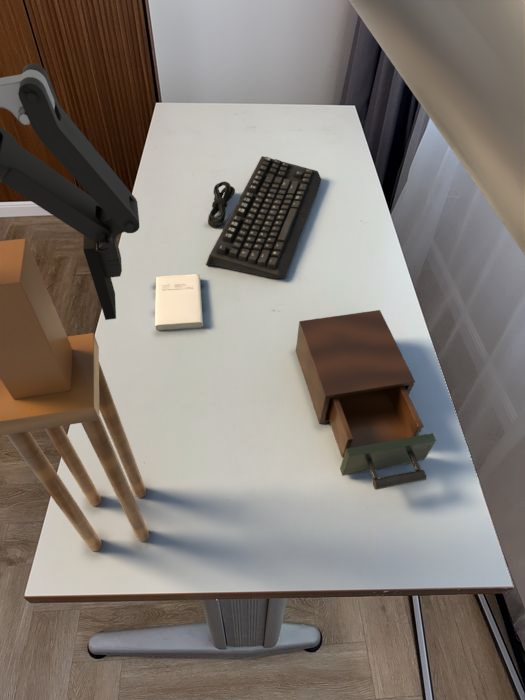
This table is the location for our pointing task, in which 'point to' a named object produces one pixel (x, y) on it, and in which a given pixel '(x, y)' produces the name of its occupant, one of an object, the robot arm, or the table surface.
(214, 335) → the table surface
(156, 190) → the table surface
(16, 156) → the robot arm
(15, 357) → the block
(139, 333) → the table surface
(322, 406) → the cabinet
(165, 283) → the hard drive
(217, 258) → the keyboard
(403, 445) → the drawer
